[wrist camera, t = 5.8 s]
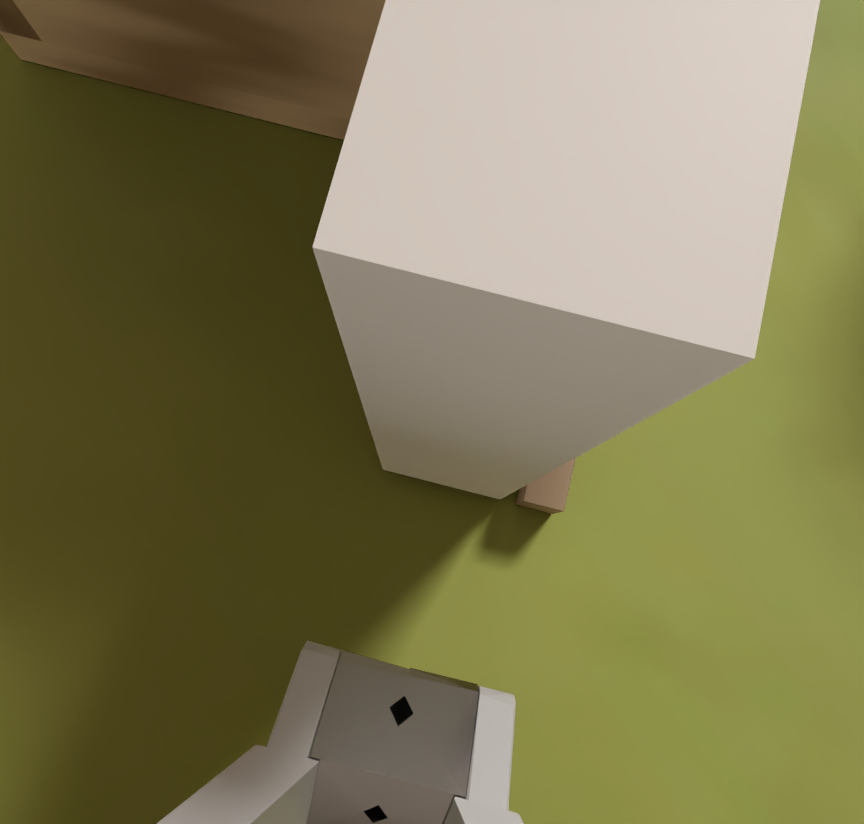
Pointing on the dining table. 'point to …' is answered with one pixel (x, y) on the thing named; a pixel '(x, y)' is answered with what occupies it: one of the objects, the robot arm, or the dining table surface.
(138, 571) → the dining table surface
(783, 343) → the dining table surface
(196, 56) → the cabinet
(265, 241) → the dining table surface
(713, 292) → the door
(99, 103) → the dining table surface
